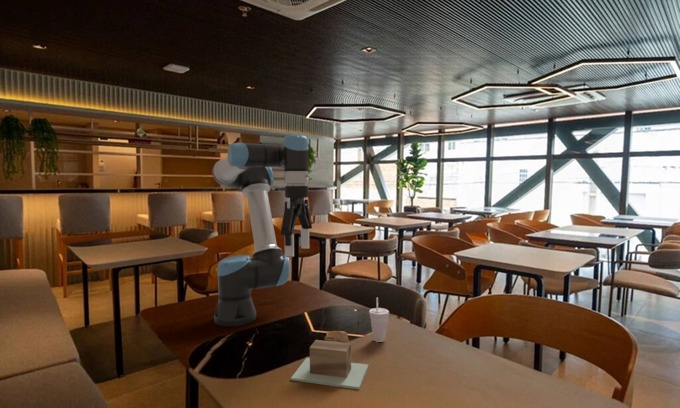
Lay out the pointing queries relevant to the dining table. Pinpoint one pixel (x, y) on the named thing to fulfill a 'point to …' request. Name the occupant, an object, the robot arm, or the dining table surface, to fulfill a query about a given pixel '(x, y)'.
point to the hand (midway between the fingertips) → (297, 252)
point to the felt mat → (351, 381)
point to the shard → (337, 336)
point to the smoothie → (378, 322)
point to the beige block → (330, 358)
